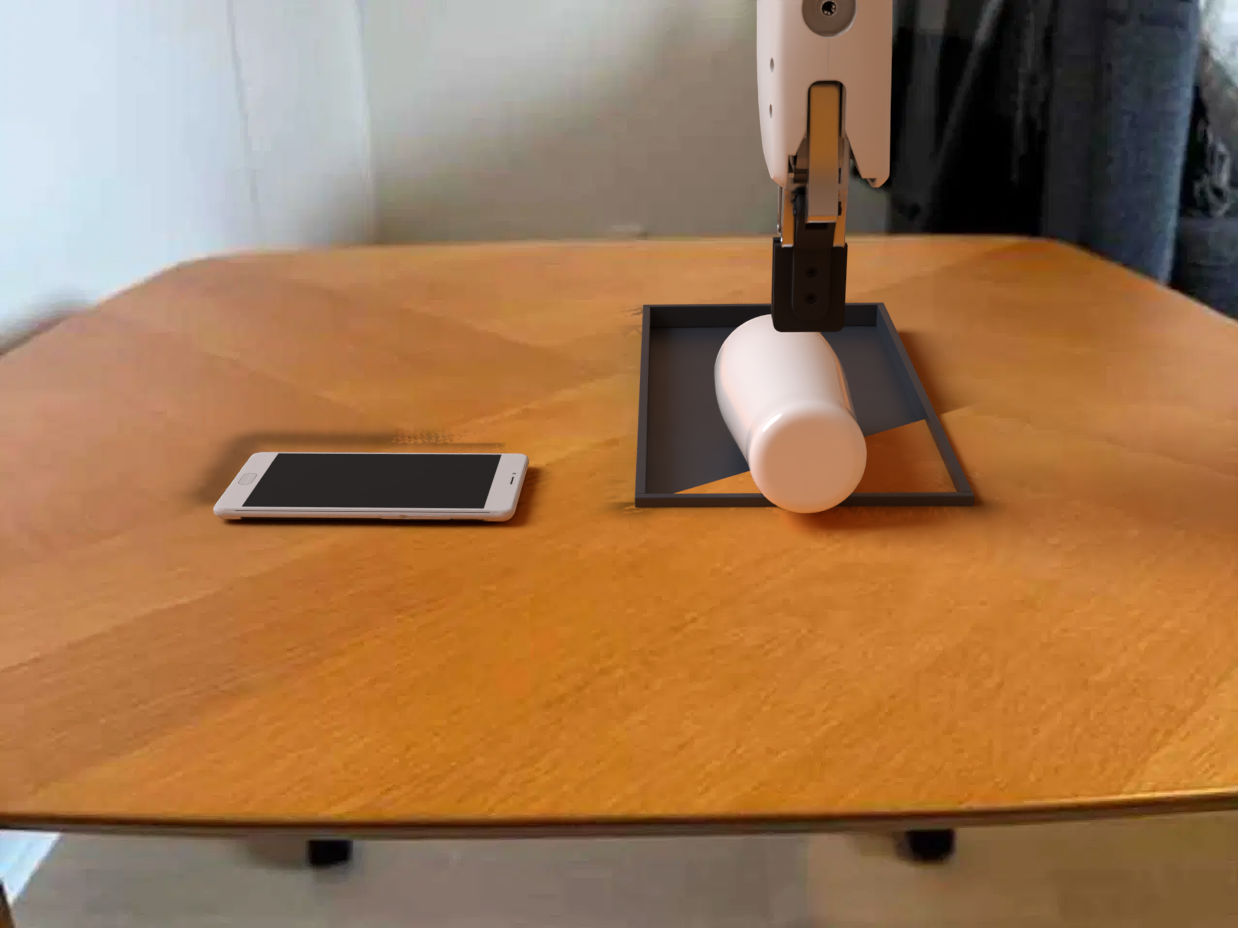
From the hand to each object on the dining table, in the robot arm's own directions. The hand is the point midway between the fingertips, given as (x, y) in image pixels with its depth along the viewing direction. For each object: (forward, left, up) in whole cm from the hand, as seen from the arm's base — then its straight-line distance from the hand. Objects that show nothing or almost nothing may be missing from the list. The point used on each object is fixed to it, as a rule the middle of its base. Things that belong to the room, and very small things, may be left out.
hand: (806, 325), depth 67 cm
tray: (-8, -12, -10) cm, 18 cm away
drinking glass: (+2, +3, -5) cm, 6 cm away
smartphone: (+15, -15, -10) cm, 24 cm away
